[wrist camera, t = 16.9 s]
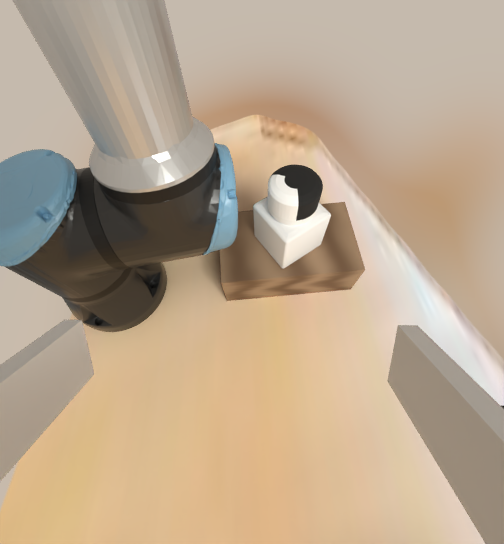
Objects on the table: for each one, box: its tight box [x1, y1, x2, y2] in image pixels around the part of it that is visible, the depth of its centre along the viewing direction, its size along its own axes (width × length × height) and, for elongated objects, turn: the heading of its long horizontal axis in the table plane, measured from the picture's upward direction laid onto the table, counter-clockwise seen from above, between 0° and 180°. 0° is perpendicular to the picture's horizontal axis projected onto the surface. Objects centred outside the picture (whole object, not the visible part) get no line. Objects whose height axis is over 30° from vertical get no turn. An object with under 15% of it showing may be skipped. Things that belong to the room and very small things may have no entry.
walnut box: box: [220, 202, 365, 301], centre depth 44 cm, size 20×12×7 cm, turn 95°
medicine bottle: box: [253, 165, 331, 269], centre depth 35 cm, size 7×7×12 cm
